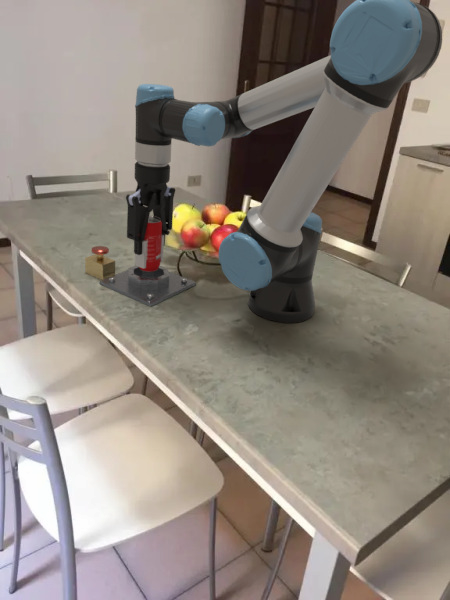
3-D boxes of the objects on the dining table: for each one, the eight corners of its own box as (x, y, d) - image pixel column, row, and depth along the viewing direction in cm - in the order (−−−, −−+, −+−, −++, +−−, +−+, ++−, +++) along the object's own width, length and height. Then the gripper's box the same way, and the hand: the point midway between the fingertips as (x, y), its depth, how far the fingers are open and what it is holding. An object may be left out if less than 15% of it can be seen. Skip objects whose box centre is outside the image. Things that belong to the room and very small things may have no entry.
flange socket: (195, 285, 126) (196, 272, 124) (150, 306, 114) (151, 293, 112) (146, 265, 133) (146, 253, 132) (99, 283, 121) (99, 270, 120)
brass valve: (115, 275, 126) (115, 250, 123) (102, 280, 123) (102, 254, 120) (98, 268, 129) (97, 243, 126) (85, 273, 126) (84, 247, 123)
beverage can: (148, 274, 118) (150, 224, 113) (132, 267, 121) (133, 217, 116) (164, 268, 122) (166, 219, 117) (148, 261, 125) (150, 213, 119)
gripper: (167, 154, 119) (162, 249, 130) (108, 164, 106) (109, 268, 116) (192, 161, 116) (186, 257, 126) (135, 171, 102) (133, 279, 112)
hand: (149, 263), depth 121 cm, fingers closed on beverage can, 5 cm apart
